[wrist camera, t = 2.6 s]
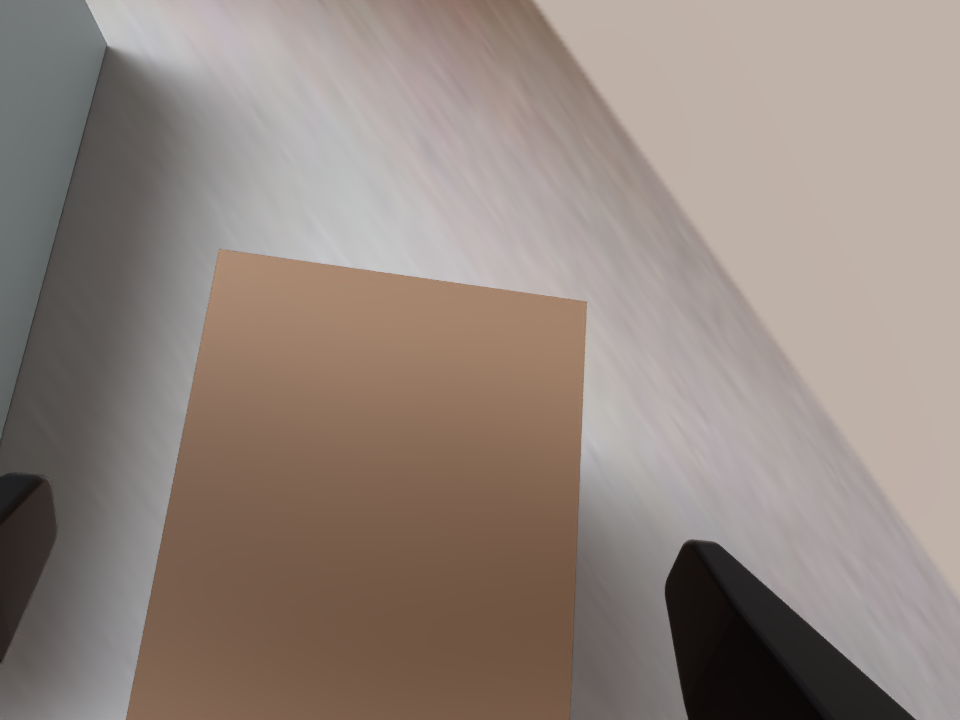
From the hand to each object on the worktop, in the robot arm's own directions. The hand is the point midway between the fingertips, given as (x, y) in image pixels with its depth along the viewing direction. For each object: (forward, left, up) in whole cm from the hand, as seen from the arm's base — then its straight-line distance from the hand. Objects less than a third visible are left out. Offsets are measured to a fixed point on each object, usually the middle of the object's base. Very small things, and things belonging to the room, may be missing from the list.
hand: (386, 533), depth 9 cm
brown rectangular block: (-1, 0, -7) cm, 7 cm away
